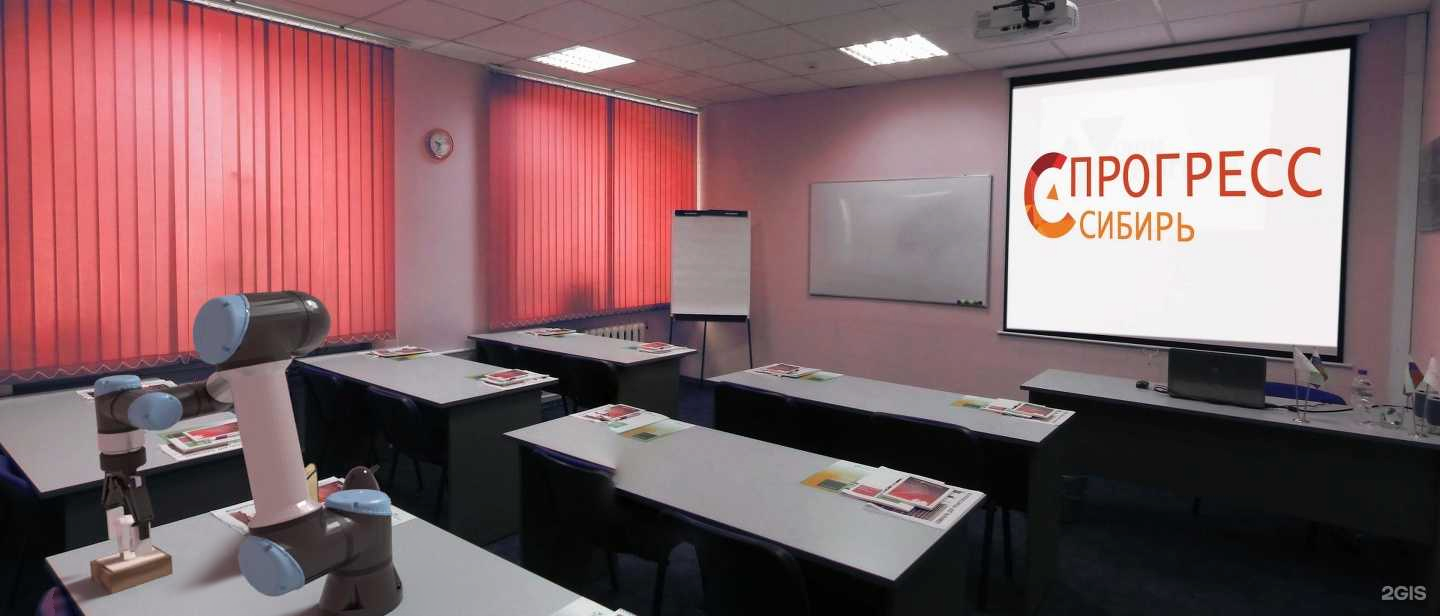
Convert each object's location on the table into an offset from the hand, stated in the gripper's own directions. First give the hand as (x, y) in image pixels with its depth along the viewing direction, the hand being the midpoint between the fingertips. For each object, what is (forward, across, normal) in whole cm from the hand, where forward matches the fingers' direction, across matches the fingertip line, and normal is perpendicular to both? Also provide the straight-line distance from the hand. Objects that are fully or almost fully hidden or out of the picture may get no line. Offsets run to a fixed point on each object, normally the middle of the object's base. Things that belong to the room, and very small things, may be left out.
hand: (130, 545), depth 151 cm
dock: (+7, 0, 0) cm, 7 cm away
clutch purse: (+7, -9, -27) cm, 30 cm away
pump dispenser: (+7, -15, -42) cm, 46 cm away
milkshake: (+3, 0, 0) cm, 3 cm away
